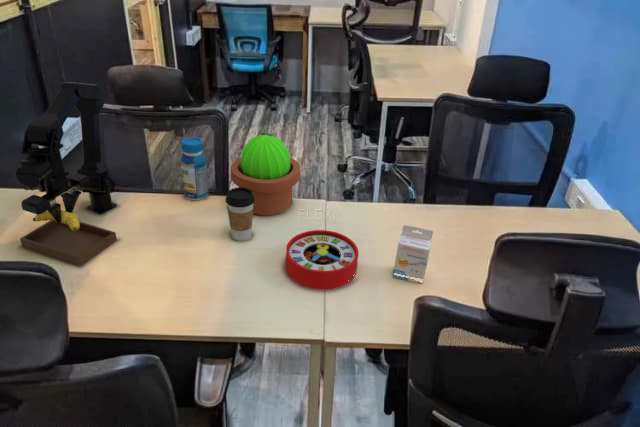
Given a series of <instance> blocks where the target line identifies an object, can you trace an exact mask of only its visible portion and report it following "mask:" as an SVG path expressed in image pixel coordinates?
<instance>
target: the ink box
mask: <svg viewBox="0 0 640 427" xmlns="http://www.w3.org/2000/svg"><path fill="white" fill-rule="evenodd" d="M417 231H418V232H419V233H418V232H417ZM433 234H434V231H433V230H431V229H426V228H422V227H418V226H413V225H408V224H403V225H402V231H401V234H400V237H399V241H398V244H397V250H396V255H395V261H394V267H393V272H394V273H397V274H401V275H405V276H409V277H415V278H420V279H425V275H426V271H427V267H428V261H429V257H430V252H431V249H432V248H431V247H432V243H433V241H432V239H433ZM392 277H393V278H396V279H400V280H404V281H408V282H412V283H415V284H416V283H417V284H419V283H418V282H419V281H416V280H415V281H414V279H410V278H406V277H401V276H397V275H394V274H393V273H392Z"/></svg>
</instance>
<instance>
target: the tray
mask: <svg viewBox="0 0 640 427" xmlns="http://www.w3.org/2000/svg"><path fill="white" fill-rule="evenodd" d="M79 225H80V227H79V229H78V230H77V231H76V232H74V231H73V230H71V229H70V228H69V226H68V225H67V224H64V223H58V222H57V221H54V220H52V221H50V220H48V221H46V222H45V223H43V224H42V225H40V226H39V227H36V228H35V229H33V230H32V231H30V232H28V233H27V234H25V235H23V236H21V237H20V238H19V242H20V244H21V247H23V248H25V249H28V250H31V251H34V252H36V253H40V254H42V255H45V256H49V257H51V258H54V259H57V260H60V261H63V262H66V263H69V264H72V265H75V266H77V267H81V268H82V266H85V264H86V263H88V262H89V261H91V260H92V259H93V258H95V257H96V256H97V255H99V254H101V253H102V252H103V251H104V250H106V249H107V248H108V247H110V246H111V245H112V244H114V243H116V242H117V241H118V240H117V239H118V238H117V234H116V231H112V230H109V229H105V228H102V227H99V226H96V225H92V224H89V223H86V222H83V221H80V223H79Z"/></svg>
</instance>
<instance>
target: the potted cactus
mask: <svg viewBox="0 0 640 427" xmlns="http://www.w3.org/2000/svg"><path fill="white" fill-rule="evenodd" d="M247 140H248V141H247V142H246V144H245V145H244V147H243V148H242V150H241V154H240V155H239V158H236V160H234V161H233V162H232V163H231V165H230V180H231V182H232V183H233V184H234V185H235V186H236V187H244V188H248V189H250V190H252V192H253V195H254V197H255V198H254V199H255V201H254V203H253V206H254V209H253V215H257V216H275V215H279V214H281V213H284V212H285V211H287V210H288V209H289V208H290V207H291V205H292V204H293V187H294V186H295V185H297V183H298V182H299V181H300V179H301V178H300V177H301V165H300V163H299V161H297V160H295V159H294V158H292V157H291V156H290V155H291V154H290V151H289V149H288V148H289V146H288V145H286V144H285V143H284V142H283V140H281V139H280V138H279V137H276V135H274V134H272V133H266V132H262V133H260V134H259V135H255V136H253V137H252V136H251V138H250V139H247Z"/></svg>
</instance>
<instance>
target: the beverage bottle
mask: <svg viewBox="0 0 640 427" xmlns="http://www.w3.org/2000/svg"><path fill="white" fill-rule="evenodd" d="M180 144H181V151H182V152H183V153H182V154H181V157H180V163H181V166H180V170H181V173H182V174H181V175H182V183H183V195H184V197H185V198H186V199H187V200H190V201H199V200H203V199H205V198H207V197H208V196H209V193H210V192H209V182H208V164H207V157H206V155H205V153H204V152H203V151H204V142H203V139H202V138H200V137H198V136H190V137H189V136H188V137H186V138H183V139H182V140H181V143H180Z"/></svg>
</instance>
